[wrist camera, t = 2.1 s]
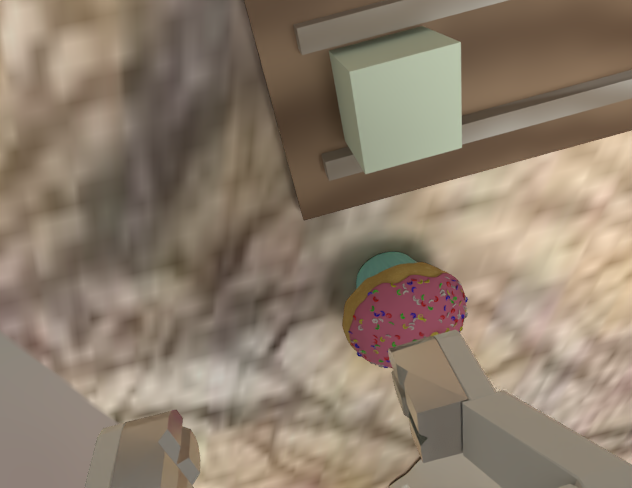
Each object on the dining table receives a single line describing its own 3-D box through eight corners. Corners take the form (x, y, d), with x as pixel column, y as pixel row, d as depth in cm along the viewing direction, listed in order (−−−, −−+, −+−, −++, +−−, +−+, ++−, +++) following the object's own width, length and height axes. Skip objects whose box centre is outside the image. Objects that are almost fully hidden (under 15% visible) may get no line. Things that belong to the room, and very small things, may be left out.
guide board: (725, 92, 30) (805, 115, 26) (300, 208, 29) (313, 251, 25) (822, -188, 22) (961, -219, 18) (234, -35, 21) (237, -30, 17)
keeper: (427, 118, 26) (461, 147, 22) (345, 140, 25) (365, 174, 22) (422, 26, 23) (460, 41, 19) (328, 51, 22) (349, 72, 19)
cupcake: (420, 211, 31) (510, 334, 21) (450, 288, 36) (536, 417, 26) (312, 265, 32) (352, 406, 22) (356, 333, 37) (405, 473, 27)
